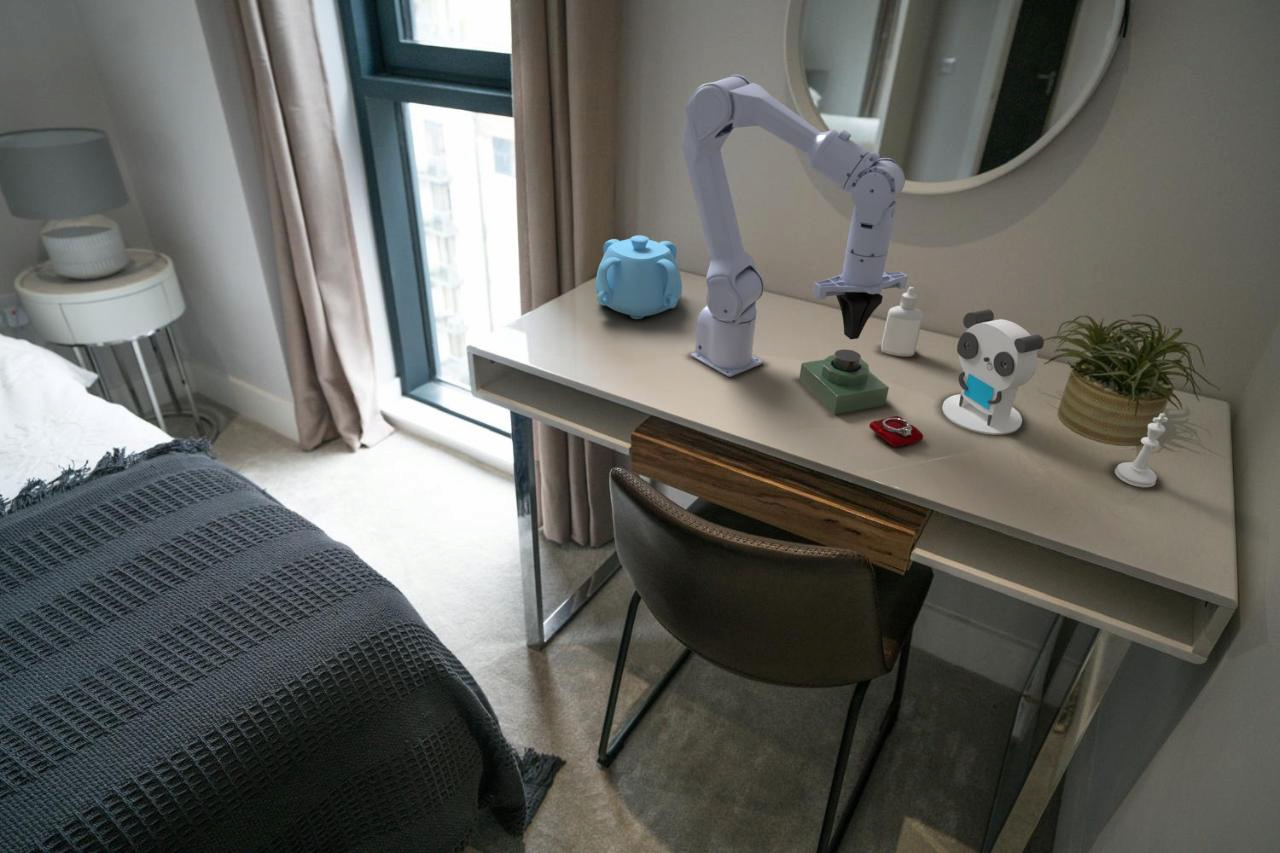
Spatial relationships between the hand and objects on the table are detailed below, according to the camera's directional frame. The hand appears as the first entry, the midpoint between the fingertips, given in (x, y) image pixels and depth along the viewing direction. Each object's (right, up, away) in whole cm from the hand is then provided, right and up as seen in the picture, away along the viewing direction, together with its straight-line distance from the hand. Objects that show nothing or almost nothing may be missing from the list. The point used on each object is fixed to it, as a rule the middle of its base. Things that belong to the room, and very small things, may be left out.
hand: (851, 336), depth 119 cm
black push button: (0, -4, +3) cm, 5 cm away
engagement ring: (+5, -15, -5) cm, 17 cm away
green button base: (0, -8, +5) cm, 10 cm away
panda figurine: (+20, -12, +1) cm, 23 cm away
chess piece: (+35, -21, -12) cm, 43 cm away
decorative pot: (-32, +9, +32) cm, 46 cm away
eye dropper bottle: (+13, -1, +18) cm, 22 cm away
